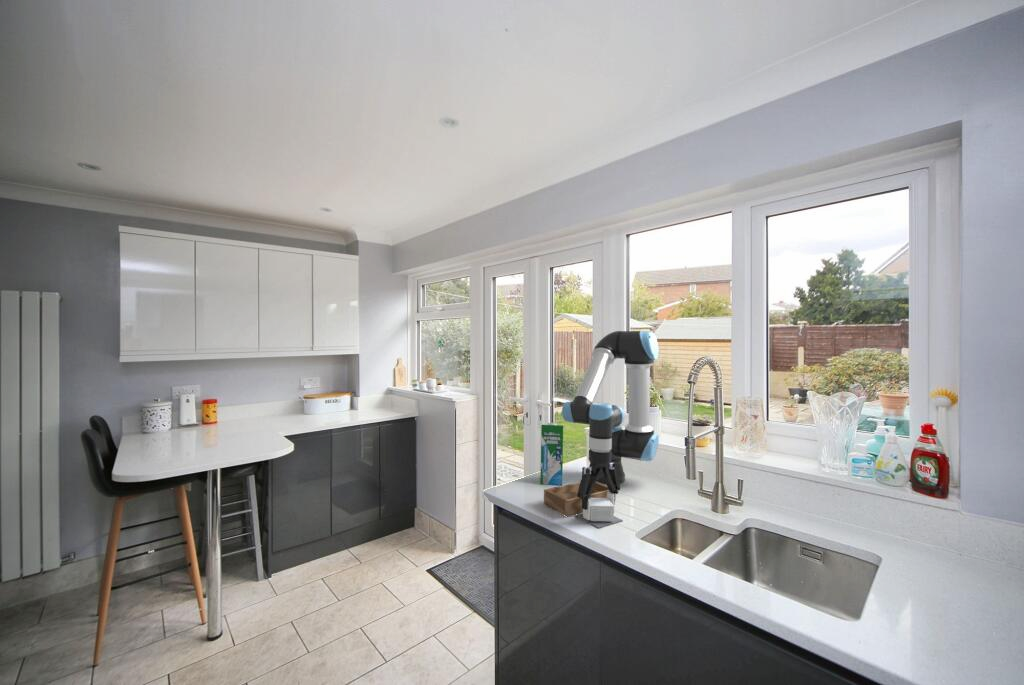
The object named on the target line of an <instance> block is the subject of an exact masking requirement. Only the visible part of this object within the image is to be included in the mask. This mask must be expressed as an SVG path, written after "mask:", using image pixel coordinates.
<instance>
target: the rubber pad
mask: <svg viewBox="0 0 1024 685" xmlns="http://www.w3.org/2000/svg"><path fill="white" fill-rule="evenodd" d="M575 517H576V518H578V519H579V518H580V520H581V519H582V521H584V522H585V521H586V522H585V523H587V524H589V525H591V526H593V527H594V528H596V527H597V528H596V529H598V528H599V529H602V528H605V527H608V526H612V525H615V524H618V523H622V522H623V519H621V518H619V517H617V516H615V515H614V520H613V521H591V520H587V519H585V518H583V513H581V514H577V515H575Z"/></svg>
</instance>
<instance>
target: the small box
mask: <svg viewBox="0 0 1024 685" xmlns="http://www.w3.org/2000/svg"><path fill="white" fill-rule="evenodd" d="M589 499H590V500H591V509H590V520H591V521H613V520H614V516H615V515H614V514H615V505H614V506H613V504H612V503H611V502H610V500H609V499H608V498H589Z"/></svg>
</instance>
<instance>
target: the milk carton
mask: <svg viewBox="0 0 1024 685" xmlns="http://www.w3.org/2000/svg"><path fill="white" fill-rule="evenodd" d="M540 432H541V433H540V434H541V435H540V439H541V440H540V444H541V445H540V482H539V484H540V485H546V486H563V465H564V464H563V460H564V459H563V458H564V457H563V456H564V425H559V424H558V423H557V422H547V424H541V430H540Z"/></svg>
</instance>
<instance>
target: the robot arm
mask: <svg viewBox="0 0 1024 685" xmlns="http://www.w3.org/2000/svg"><path fill="white" fill-rule="evenodd" d="M591 356H592V357H591V358H592V359H591V360H590V362H589V365H588V367H587V369H586V371H585V373H584V376H583V378H582V380H581V382H580V385H579V387H578V389H577V392H576V394H575V395H574V397H573V400H572V401H565V403H563V404H562V409H561V417H562V418H563V420H564V421H565V422H568V423H573V424H582V425H589V426H588V427H589V428H588V429H589V433H588V448H589V449H588V461H589V466H588V467H585V466H582V469H581V472H582V473H581V478H580V481H579V482H580V485H579V490H578V494H577V497H579V498H581V499H582V509H583V518H585V519H587V520H590V509H591V500H590V499H589V497H590V495H591V492H592V490H593V488H594V485H595V483H596V482H598V483H601V484H605V486H607V487H608V489H609V491H610V492H607V498H608V499H609V500H610V502H611V503H612V504H613V506H614V507H615V504H614V502H615V503H616V495H618V494H619V491H620V490H621V485H620V484H621V483H624V482H626V474H625V472H624V467H623V463H622V458H625V459H630V460H635V461H636V460H637V461H640V462H652V461H653V460H654V459H655V457H656V454H657V451H658V447H659V438H660V437H659V434H657V433H654V432H655V428H654V427H653V426H652V425H651V389H650V388H651V387H650V386H651V378H650V377H651V376H650V375H651V373H650V371H651V370H650V369H651V367H652V366H653V365H654V362H655V361H656V360H657V359H658V357H659V344H658V340H657V337H656V335H655V334H654V332H652V331H646V330H624V331H623V330H617V331H616V330H615V331H612V332H610V333H608V334H606V335H605V336H604V337H602V339H600V340H599V341H598V342H597V344H596V345H595V346H594V348H593V350H592V353H591ZM616 359H624V365H625V366H626V367H627V368H628V370H627V372H628V373H627V374H628V379H627V380H628V382H627V384H628V385H627V386H628V392H627V393H628V394H627V395H628V423H627V424H626V425H625V427H624V429H623V427H622V425H621V424H623V423H624V421H625V419H626V414H625V411H624V409H623V408H622V407H621V406H620V405H617V404H610V403H606V402H595V400H596V399H597V395H598V393H599V392H600V389H601V387H602V383H603V382H604V380H605V377H606V375H607V371H608V370H609V368H610V365H612V364H613V363H614V362H615V360H616ZM585 495H586V496H585Z"/></svg>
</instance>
